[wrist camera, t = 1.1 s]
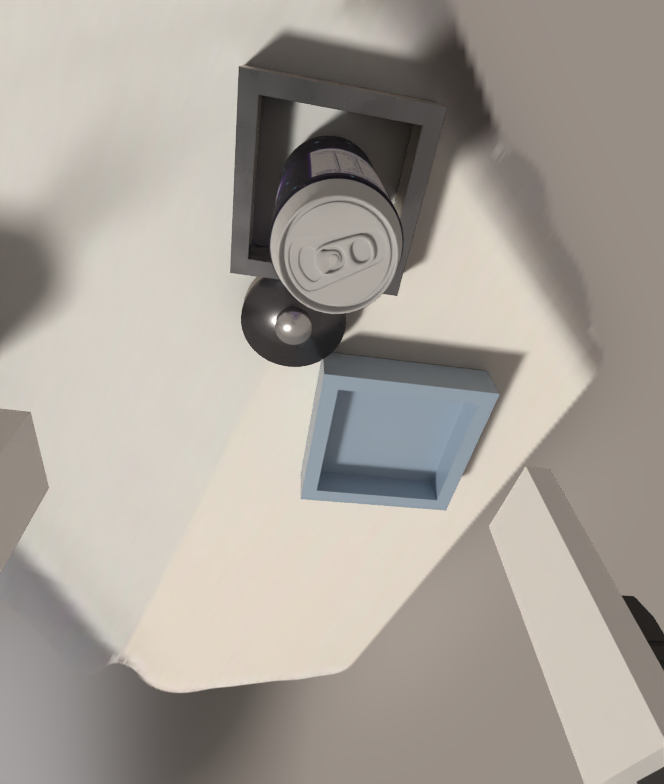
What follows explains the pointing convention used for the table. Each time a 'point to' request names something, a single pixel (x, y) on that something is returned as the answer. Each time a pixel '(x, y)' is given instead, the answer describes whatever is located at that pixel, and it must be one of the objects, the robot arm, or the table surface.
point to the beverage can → (334, 228)
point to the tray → (393, 431)
